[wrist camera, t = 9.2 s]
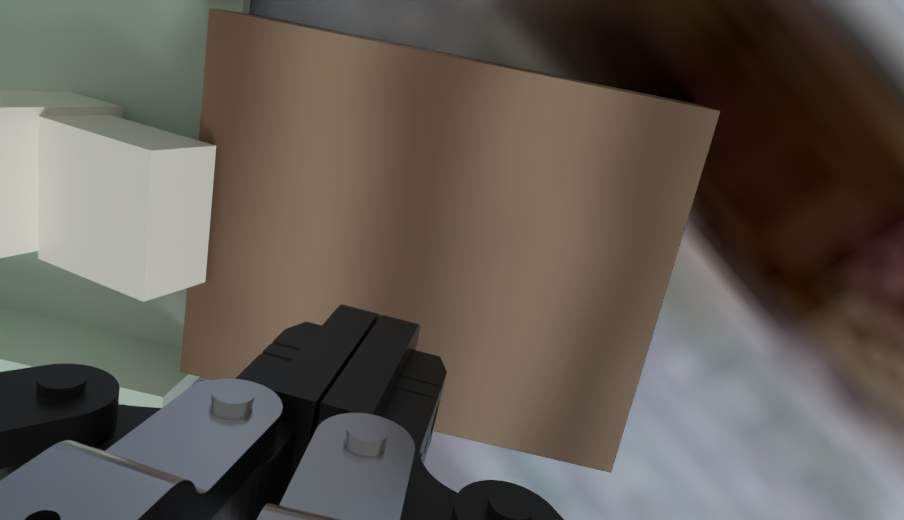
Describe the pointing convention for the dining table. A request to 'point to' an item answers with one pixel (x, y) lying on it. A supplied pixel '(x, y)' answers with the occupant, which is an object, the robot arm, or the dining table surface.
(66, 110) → the tile
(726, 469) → the dining table surface
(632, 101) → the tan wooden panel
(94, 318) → the tray
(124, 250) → the tile
